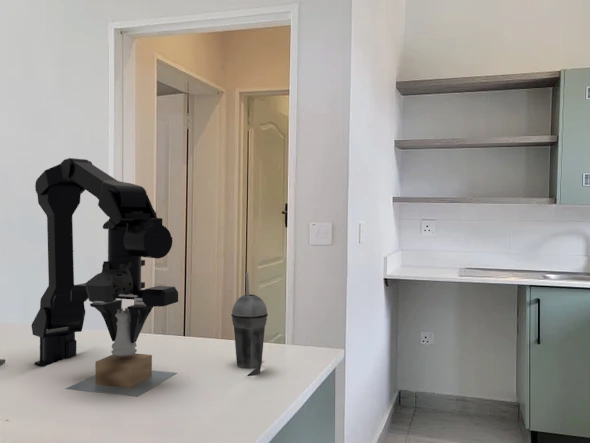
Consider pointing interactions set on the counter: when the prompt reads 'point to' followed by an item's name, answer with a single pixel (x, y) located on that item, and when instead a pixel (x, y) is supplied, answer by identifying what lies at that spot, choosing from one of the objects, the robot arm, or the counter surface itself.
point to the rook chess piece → (123, 335)
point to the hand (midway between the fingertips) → (124, 341)
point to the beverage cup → (249, 330)
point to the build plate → (134, 391)
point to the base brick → (123, 370)
